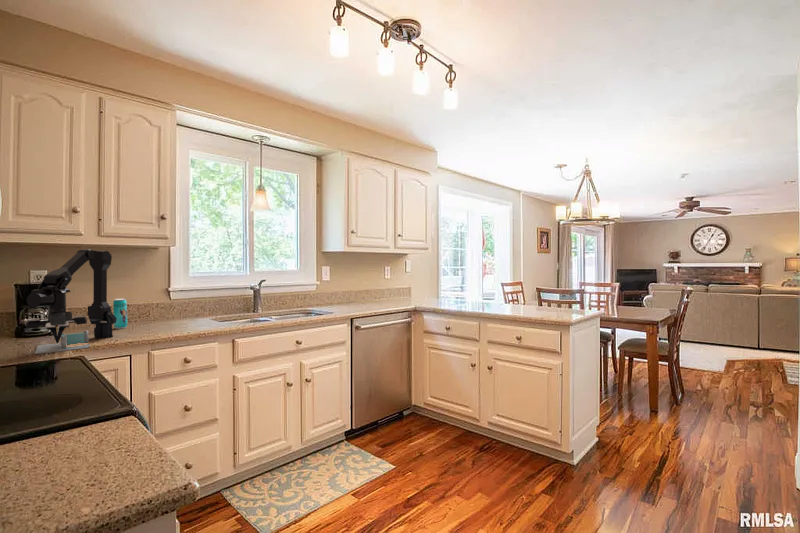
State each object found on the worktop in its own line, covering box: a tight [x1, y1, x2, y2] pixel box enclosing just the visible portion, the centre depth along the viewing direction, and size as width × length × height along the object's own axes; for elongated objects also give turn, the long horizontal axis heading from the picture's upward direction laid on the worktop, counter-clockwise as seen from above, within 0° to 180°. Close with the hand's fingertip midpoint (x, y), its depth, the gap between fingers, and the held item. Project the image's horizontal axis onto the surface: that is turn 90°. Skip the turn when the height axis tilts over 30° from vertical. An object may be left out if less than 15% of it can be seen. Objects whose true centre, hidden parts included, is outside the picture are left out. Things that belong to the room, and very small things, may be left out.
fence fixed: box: [65, 329, 90, 345], centre depth 179 cm, size 7×2×5 cm, turn 127°
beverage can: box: [112, 298, 128, 330], centre depth 217 cm, size 6×6×15 cm
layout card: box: [34, 341, 90, 355], centre depth 175 cm, size 17×18×1 cm
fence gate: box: [60, 332, 67, 349], centre depth 173 cm, size 10×2×5 cm, turn 40°
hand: (57, 342), depth 171 cm, fingers closed
